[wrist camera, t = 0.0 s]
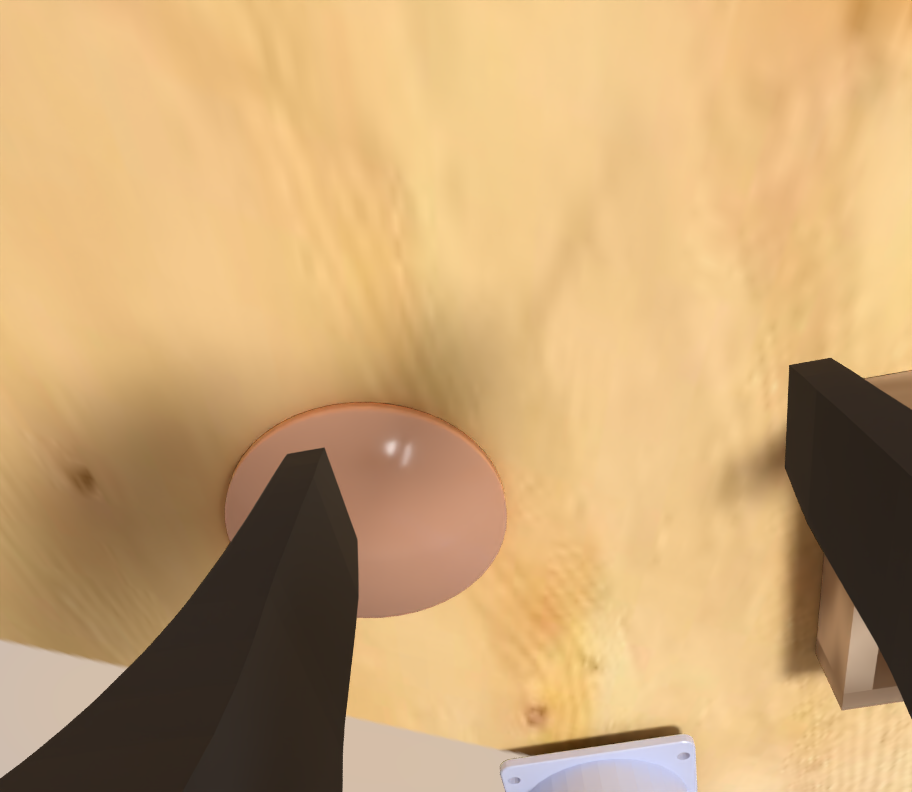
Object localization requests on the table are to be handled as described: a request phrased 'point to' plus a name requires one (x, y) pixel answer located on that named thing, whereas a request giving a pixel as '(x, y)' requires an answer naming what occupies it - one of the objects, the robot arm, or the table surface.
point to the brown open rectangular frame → (856, 618)
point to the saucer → (392, 498)
